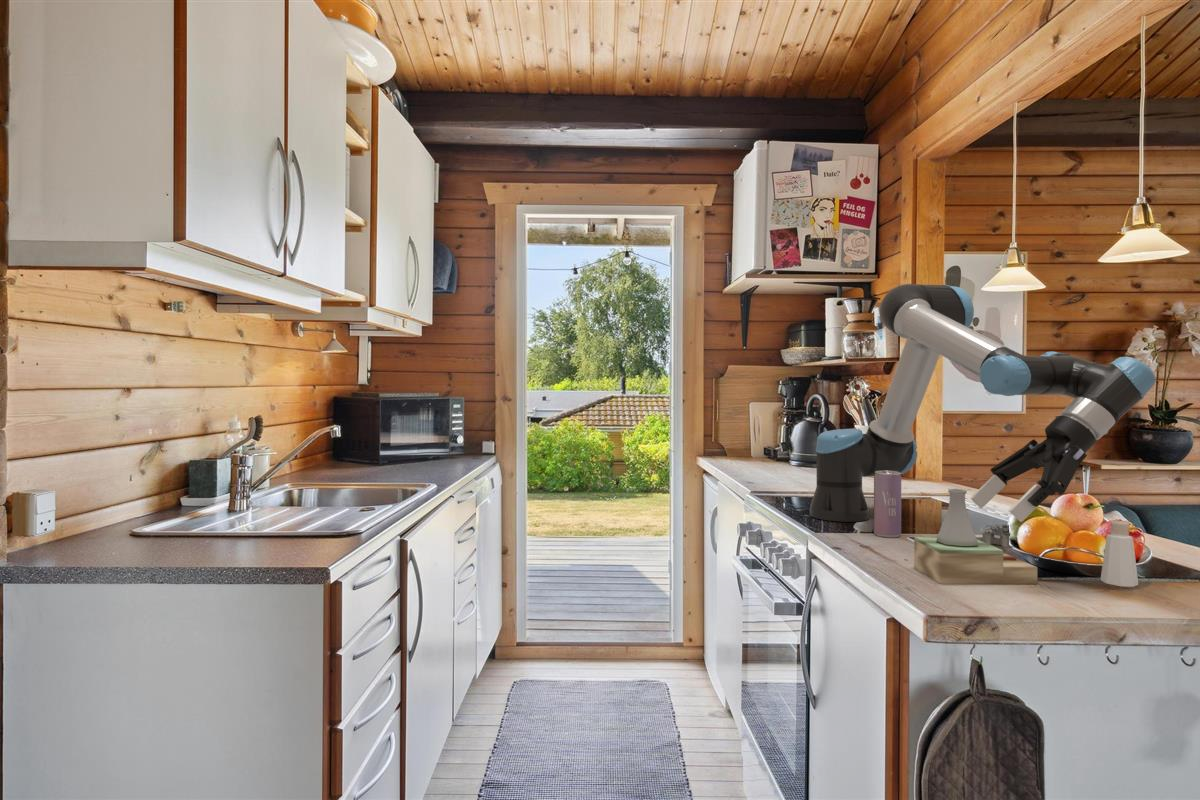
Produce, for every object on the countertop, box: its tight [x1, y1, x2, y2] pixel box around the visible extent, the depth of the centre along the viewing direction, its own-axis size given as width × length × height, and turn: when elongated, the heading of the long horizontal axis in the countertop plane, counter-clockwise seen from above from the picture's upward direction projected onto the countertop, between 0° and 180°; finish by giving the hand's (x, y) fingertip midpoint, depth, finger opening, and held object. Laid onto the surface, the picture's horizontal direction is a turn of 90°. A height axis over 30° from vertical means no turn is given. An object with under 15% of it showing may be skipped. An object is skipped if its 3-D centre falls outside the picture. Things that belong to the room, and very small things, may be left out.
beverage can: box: [873, 471, 902, 539], centre depth 163 cm, size 6×6×15 cm
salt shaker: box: [1100, 519, 1139, 588], centre depth 124 cm, size 5×5×11 cm
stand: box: [913, 536, 1038, 585], centre depth 129 cm, size 11×17×6 cm, turn 89°
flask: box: [936, 488, 978, 546], centre depth 129 cm, size 7×7×10 cm
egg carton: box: [980, 521, 1010, 548], centre depth 157 cm, size 11×8×4 cm
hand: (994, 509), depth 128 cm, fingers open, 13 cm apart
